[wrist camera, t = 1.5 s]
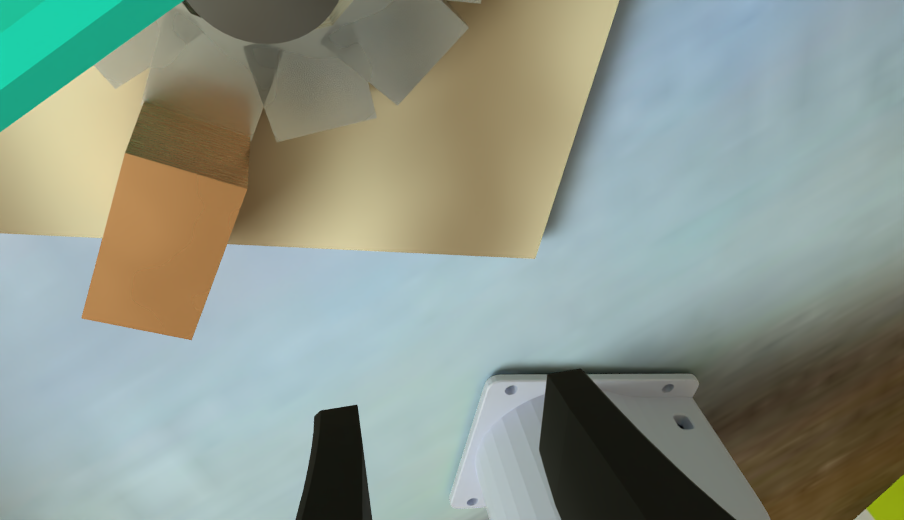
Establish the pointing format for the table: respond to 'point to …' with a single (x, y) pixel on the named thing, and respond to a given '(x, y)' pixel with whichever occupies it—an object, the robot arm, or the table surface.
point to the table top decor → (61, 44)
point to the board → (352, 140)
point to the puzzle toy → (887, 504)
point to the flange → (234, 137)
